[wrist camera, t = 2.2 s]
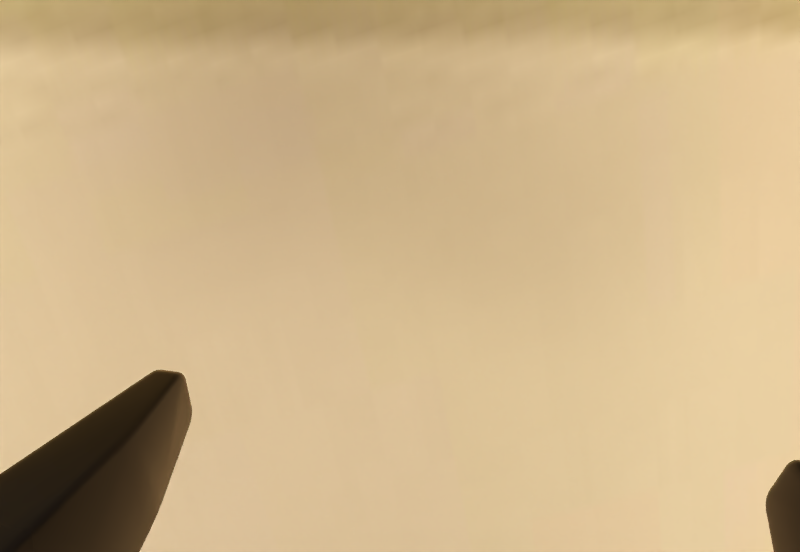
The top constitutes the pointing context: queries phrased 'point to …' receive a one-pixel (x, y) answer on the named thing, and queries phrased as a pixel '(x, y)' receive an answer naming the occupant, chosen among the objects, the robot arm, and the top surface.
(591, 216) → the top surface
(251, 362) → the top surface
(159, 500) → the robot arm
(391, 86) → the top surface
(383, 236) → the top surface
